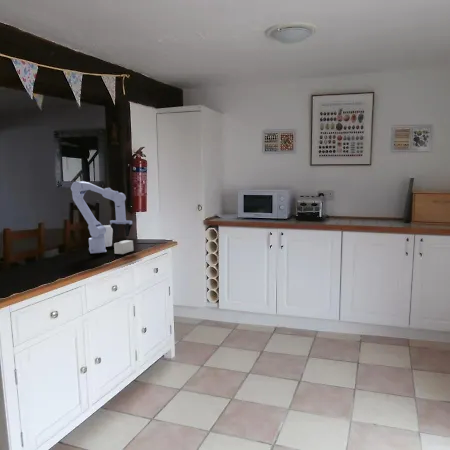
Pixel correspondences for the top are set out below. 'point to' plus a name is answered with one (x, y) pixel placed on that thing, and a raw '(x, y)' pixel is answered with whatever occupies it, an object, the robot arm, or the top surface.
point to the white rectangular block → (123, 247)
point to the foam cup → (108, 235)
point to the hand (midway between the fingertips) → (122, 236)
